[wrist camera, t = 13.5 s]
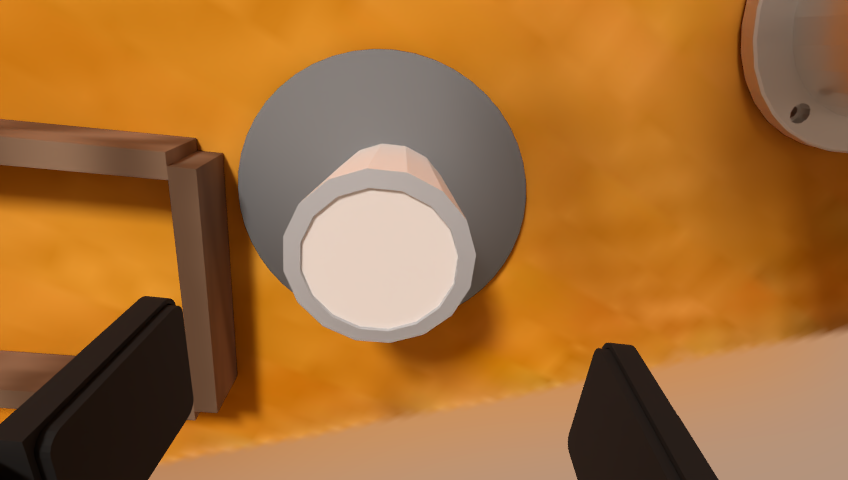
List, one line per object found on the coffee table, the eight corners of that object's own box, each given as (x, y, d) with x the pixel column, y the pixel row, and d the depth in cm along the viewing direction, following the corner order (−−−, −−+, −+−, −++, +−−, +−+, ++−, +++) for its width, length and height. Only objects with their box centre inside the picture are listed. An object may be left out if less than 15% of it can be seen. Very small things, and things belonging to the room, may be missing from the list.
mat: (550, 66, 21) (552, 67, 21) (499, 328, 27) (500, 334, 26) (233, 32, 20) (229, 32, 20) (247, 309, 26) (244, 314, 25)
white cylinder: (363, 284, 25) (345, 371, 18) (290, 171, 22) (240, 226, 16) (481, 228, 24) (507, 299, 17) (418, 103, 21) (421, 131, 15)
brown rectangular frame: (222, 140, 22) (194, 154, 19) (237, 383, 28) (218, 421, 25) (-194, 100, 21) (-285, 109, 18) (-91, 361, 27) (-149, 398, 24)
